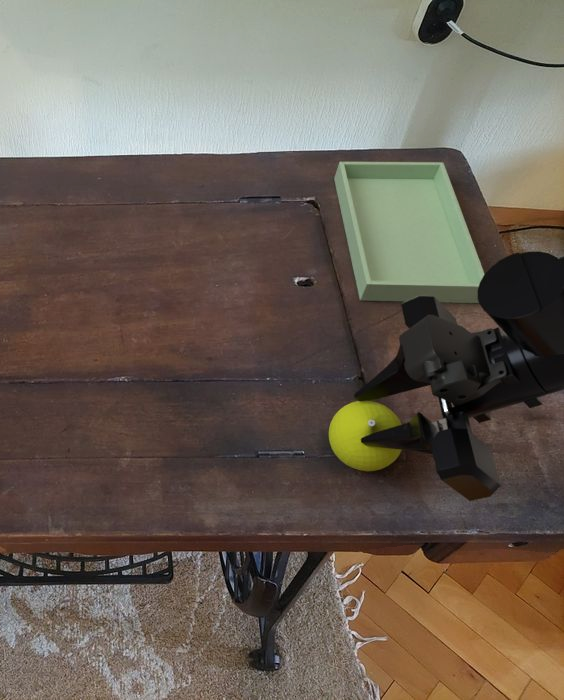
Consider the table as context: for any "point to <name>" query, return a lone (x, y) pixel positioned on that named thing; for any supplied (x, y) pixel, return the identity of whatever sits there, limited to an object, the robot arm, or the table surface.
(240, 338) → the table surface
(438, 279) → the pale green tray
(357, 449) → the ornament
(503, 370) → the robot arm
